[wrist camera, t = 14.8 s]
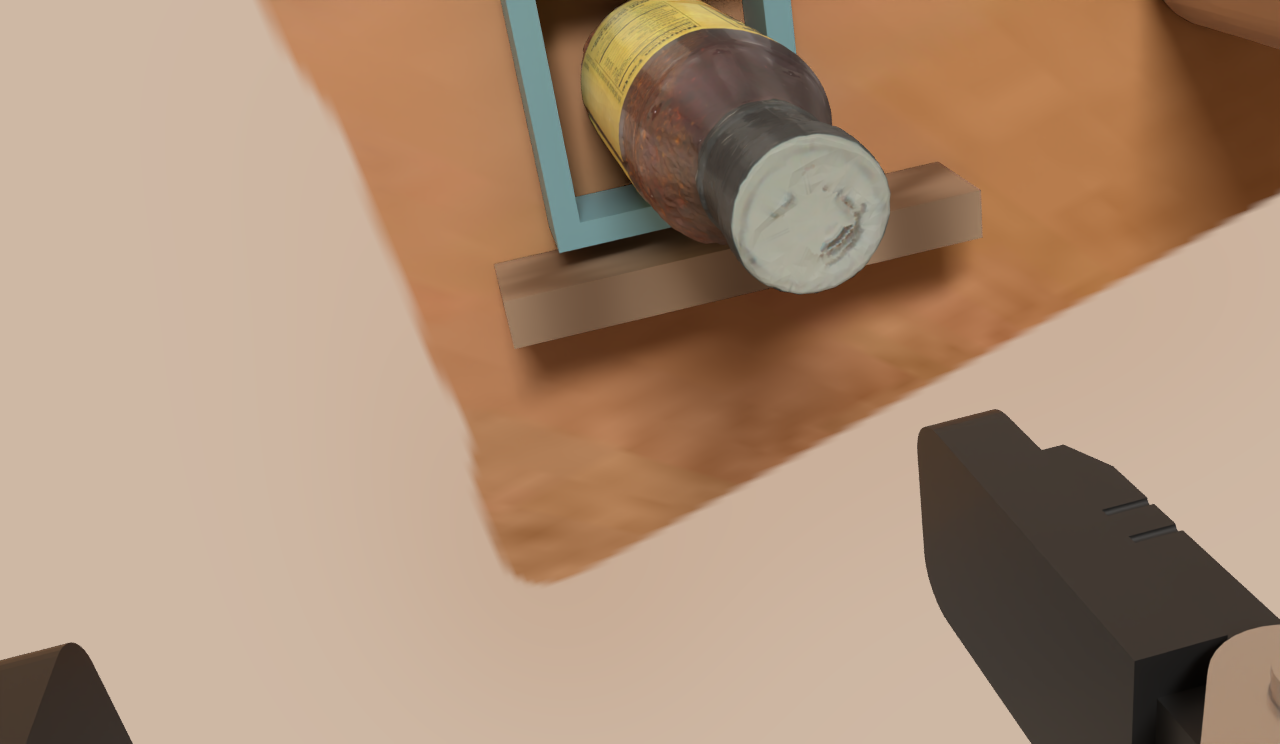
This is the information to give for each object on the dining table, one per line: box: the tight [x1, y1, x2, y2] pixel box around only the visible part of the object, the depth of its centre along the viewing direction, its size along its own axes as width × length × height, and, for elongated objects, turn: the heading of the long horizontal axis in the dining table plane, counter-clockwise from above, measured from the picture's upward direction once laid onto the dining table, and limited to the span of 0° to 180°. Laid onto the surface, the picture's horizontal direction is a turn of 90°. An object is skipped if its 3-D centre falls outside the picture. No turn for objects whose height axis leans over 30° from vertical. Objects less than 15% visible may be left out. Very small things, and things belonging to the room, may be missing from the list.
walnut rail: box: [494, 162, 982, 349], centre depth 48 cm, size 19×2×4 cm, turn 100°
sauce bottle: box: [581, 0, 891, 294], centre depth 37 cm, size 7×6×20 cm
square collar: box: [501, 0, 796, 253], centre depth 45 cm, size 10×11×3 cm
